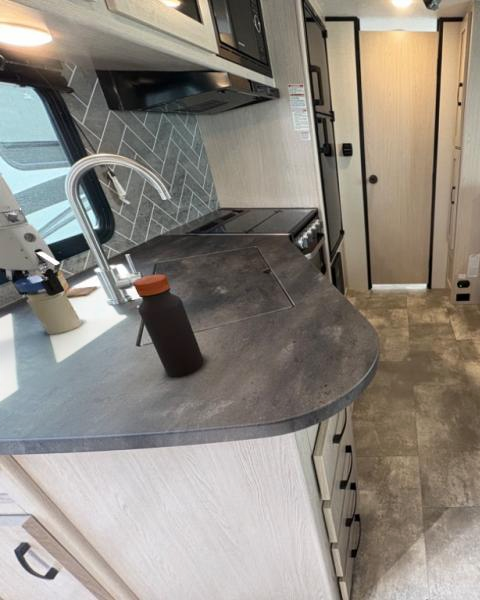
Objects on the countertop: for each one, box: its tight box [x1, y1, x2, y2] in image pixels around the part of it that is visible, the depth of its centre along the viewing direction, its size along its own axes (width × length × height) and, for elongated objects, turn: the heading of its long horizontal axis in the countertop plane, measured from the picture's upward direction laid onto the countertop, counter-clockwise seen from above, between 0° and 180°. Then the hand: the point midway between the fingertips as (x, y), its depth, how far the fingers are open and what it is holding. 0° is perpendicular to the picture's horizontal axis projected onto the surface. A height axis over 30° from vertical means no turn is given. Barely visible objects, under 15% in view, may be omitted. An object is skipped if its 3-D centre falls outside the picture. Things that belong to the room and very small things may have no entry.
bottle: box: [132, 273, 205, 378], centre depth 61 cm, size 7×7×20 cm
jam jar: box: [25, 289, 82, 335], centre depth 79 cm, size 7×7×11 cm
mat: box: [65, 286, 98, 299], centre depth 101 cm, size 6×6×1 cm
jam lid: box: [13, 275, 45, 293], centre depth 76 cm, size 7×7×2 cm
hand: (42, 292), depth 77 cm, fingers closed on jam lid, 6 cm apart
